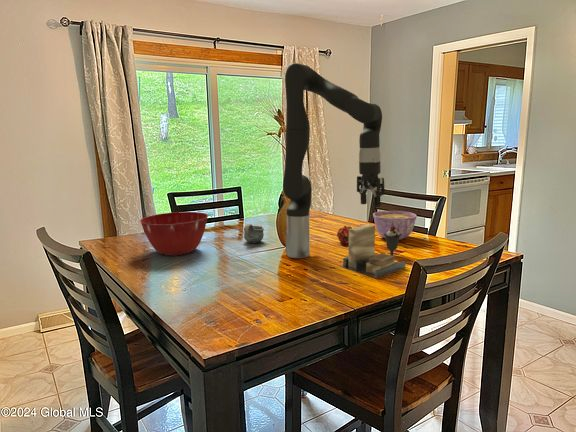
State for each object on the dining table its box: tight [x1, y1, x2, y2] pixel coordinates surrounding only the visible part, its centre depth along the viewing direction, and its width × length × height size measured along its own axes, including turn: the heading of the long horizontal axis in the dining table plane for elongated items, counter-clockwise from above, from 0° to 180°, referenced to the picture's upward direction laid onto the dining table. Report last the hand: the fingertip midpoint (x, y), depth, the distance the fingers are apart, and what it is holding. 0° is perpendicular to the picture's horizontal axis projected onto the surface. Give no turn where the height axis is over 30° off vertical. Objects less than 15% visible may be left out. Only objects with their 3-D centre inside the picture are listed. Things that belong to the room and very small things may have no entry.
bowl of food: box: [372, 210, 418, 241], centre depth 198 cm, size 20×20×12 cm
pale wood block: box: [348, 224, 376, 268], centre depth 154 cm, size 3×11×14 cm, turn 129°
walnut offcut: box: [370, 253, 395, 267], centre depth 147 cm, size 5×8×2 cm, turn 137°
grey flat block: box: [366, 259, 399, 274], centre depth 148 cm, size 6×10×3 cm, turn 129°
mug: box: [243, 223, 265, 244], centre depth 194 cm, size 10×12×10 cm
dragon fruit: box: [336, 225, 353, 245], centre depth 191 cm, size 8×8×12 cm
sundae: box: [384, 223, 401, 257], centre depth 165 cm, size 7×7×15 cm
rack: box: [339, 254, 406, 279], centre depth 152 cm, size 17×16×4 cm
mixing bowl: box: [139, 211, 209, 256], centre depth 182 cm, size 28×28×16 cm
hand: (370, 205), depth 152 cm, fingers open, 8 cm apart
